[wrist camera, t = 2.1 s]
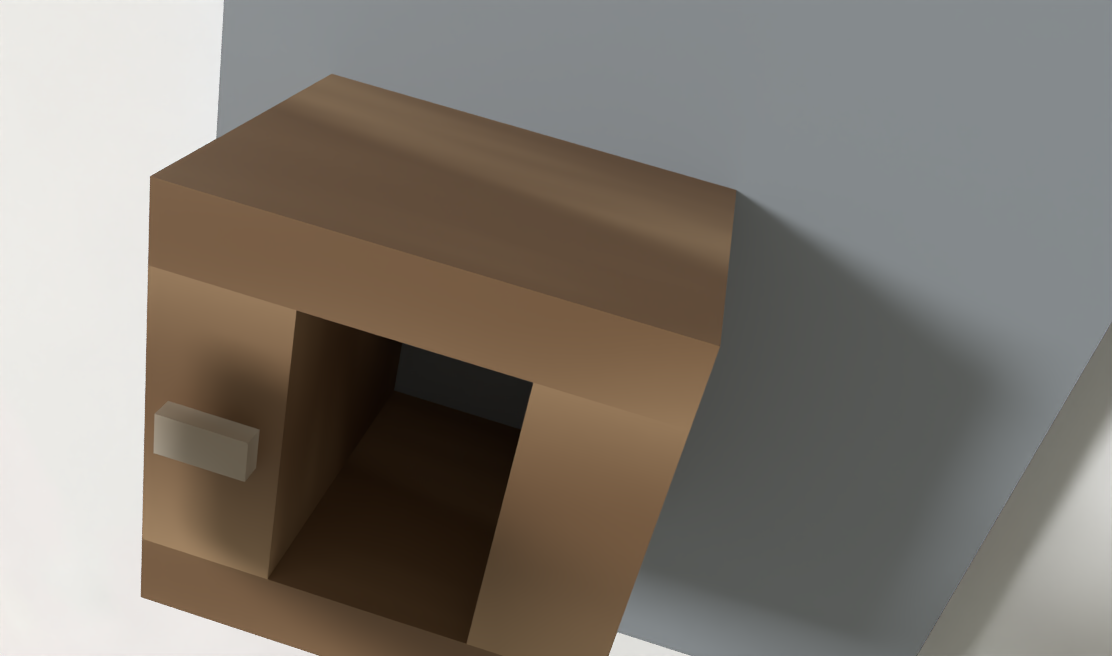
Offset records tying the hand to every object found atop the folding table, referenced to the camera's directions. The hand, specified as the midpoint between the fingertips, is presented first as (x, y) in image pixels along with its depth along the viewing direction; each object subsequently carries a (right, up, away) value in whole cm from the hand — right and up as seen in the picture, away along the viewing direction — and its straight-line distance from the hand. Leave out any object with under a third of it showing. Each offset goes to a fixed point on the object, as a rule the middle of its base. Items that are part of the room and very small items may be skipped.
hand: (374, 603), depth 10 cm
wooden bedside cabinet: (+1, +3, +6) cm, 7 cm away
